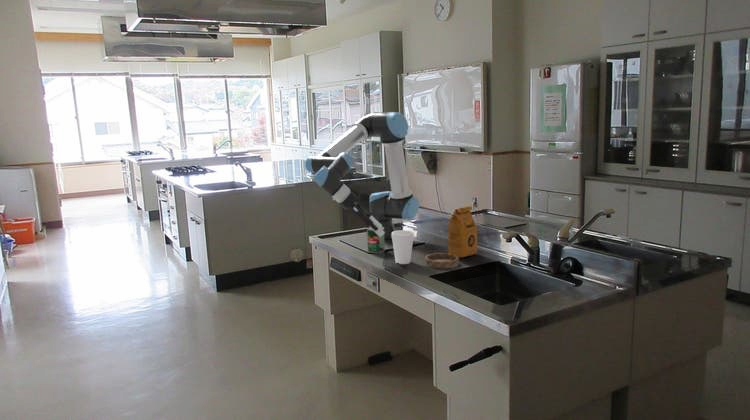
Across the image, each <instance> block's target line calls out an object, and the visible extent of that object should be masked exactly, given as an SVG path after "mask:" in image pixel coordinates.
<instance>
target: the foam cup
mask: <svg viewBox="0 0 750 420" xmlns="http://www.w3.org/2000/svg"><path fill="white" fill-rule="evenodd" d="M414 235H415V232H413V231H412V230H403V229H402V230H400V229H399V230H395V231H394V232H392V238H391V239H392V247H393V248H392V249H393V254H394V260H395V264H397V263H399V264H398V265H407V264H410V263H411V258H412V254H413V253H412V251H413V242H414V237H415V236H414Z"/></svg>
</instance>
